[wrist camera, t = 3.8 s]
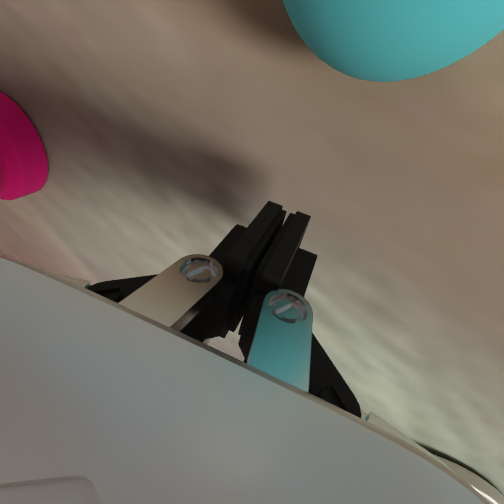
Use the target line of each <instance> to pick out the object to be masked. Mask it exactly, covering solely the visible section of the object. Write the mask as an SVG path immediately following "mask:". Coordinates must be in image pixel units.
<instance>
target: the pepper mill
mask: <svg viewBox="0 0 504 504" xmlns="http://www.w3.org/2000/svg"><path fill="white" fill-rule="evenodd" d="M47 175H48V161H47V155H46V152H45V149H44V145H43V143H42V140H41V138H40V136H39V134H38V132H37V130H36V128H35V127H34V125H33V124H32V122H31V121H30V119H29V118H28V116H27V115H26V114H25V113H24V112H23V110H22V109H21V108H20V107H19V106H18V104H16V103H15V102H14V101H13V100H12V99H10V98H9V97H8V96H7V95H6V94H4V93H3V92H1V91H0V199H2V200H13V199H16V198H19V197H22V196H25V195H28V194H31V193H34V192H36V191H39V190H40V189H41V188H42V187H43V186H44V184H45V182H46V180H47Z"/></svg>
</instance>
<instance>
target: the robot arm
mask: <svg viewBox="0 0 504 504" xmlns="http://www.w3.org/2000/svg"><path fill="white" fill-rule="evenodd" d="M285 215H286V211H284V210H282V205H279V204H276V203H274V202H271V201H268V202H267V204H266V205H265V206H264V207H263V209H262V210H261V211H260V212H259V214H258V215H257V216H256V217H255V219H254V220H253V221H252V222H251V224H250V225H249V226H248V227H247V228H246V227H244V226H241V225H238V224H237V225H236V226H235V227H234V228H233V229H232V230H231V231H230V232H229V234H228V235H227V236H226V237H225V238H224V239H223V240H222V242H221V243H220V244H219V245H218V246H217V247H216V248H215V250H214V251H213V252H212V253H211V254H210V255H209V256H206V255H200V254H193V255H188V256H185V257H183V258H181V259H179V260H178V261H177V262H175V263H174V264H172V265H171V266H170V267H168V268H167V269H165V270H164V271H163V272H161V273H160V274H157V275H150V276H142V277H135V278H127V279H119V280H112V281H105V282H100V283H96V284H94V285H90V281H87V280H83V279H78V278H74V277H70V276H66V275H61V274H57V273H53V272H48V271H45V270H43V269H40V268H38V267H35V266H33V265H30V264H28V263H25V262H22V261H20V260H17V259H14V258H11V257H8V256H5V255H1V254H0V504H504V496H503V495H502V494H501V493H500V492H499V491H498V490H497V489H496V488H494V487H493V486H492V485H490V484H489V483H488V482H486V481H485V480H483V479H482V478H481V477H479V476H478V475H476V474H474V473H473V472H471V471H469V470H467V469H465V468H464V467H462V466H460V465H458V464H456V463H454V462H451V461H449V460H447V459H444V458H442V457H440V456H437V455H435V454H431V453H430V452H428V451H427V450H426V449H424V448H423V447H421V446H420V445H418V444H417V443H416V442H414V441H413V440H411V439H410V438H408V437H407V436H406V435H404V434H403V433H401V432H400V431H399V430H397V429H396V428H394V427H393V426H391V425H390V424H389V423H387V422H386V421H384V420H383V419H381V418H380V417H379V416H377V415H376V414H374V413H373V412H372V411H371V412H370V413H369V414H367V413H366V412H364V411H363V410H362V409H360V406H359V403H358V401H357V399H356V398H355V396H354V394H353V393H352V391H351V390H350V388H349V387H348V385H347V384H346V382H345V381H344V379H343V378H342V376H341V375H340V373H339V372H338V370H337V369H336V367H335V366H334V364H333V363H332V361H331V360H330V358H329V357H328V355H327V354H326V352H325V351H324V349H323V348H322V346H321V345H320V343H319V342H318V340H317V339H316V337H315V336H314V334H313V333H312V322H313V312H312V308H311V306H310V304H309V302H308V301H307V300H306V299H305V298H304V295H305V292H306V289H307V286H308V283H309V280H310V277H311V274H312V271H313V268H314V265H315V262H316V259H317V255H316V254H313V253H311V252H308V251H305V250H303V249H300V248H299V247H300V244H301V241H302V239H303V236H304V233H305V231H306V228H307V225H308V223H309V220H310V217H311V216H309V215H306V214H304V213H301V212H298V211H297V212H296V214H292V213H290V214H289V216H288V218H287V219H286V221H285V223H284V224H283V222H284V218H285ZM282 225H283V226H282ZM242 317H243V319H242ZM241 319H242V322H241V326H240V329H239V333H238V334H239V335H241V337H240V340H239V343H238V344H239V347H240V349H241V351H242V353H243V356H244V361H243V362H242V361H240V360H238V359H236V358H234V357H232V356H230V355H228V354H225V353H223V352H221V351H219V350H217V349H215V348H213V347H211V346H208V343H209V341H210V338H213V337H218V336H220V337H222V338H225V336H226V335H227V333H228V331H229V330H230V331H232V332H234V331H235V330H236V328H237V326H238V324H239V322H240V321H241Z"/></svg>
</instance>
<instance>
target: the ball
mask: <svg viewBox="0 0 504 504" xmlns="http://www.w3.org/2000/svg"><path fill="white" fill-rule="evenodd" d="M283 3H284V6H285V8H286V11H287V13H288V15H289V18H290V20H291V22H292V24H293V26H294V27H295V29H296V31H297V33H298V34H299V36H300V37H301V39H302V40H303V41H304V43H305V44H306V45H307V46H308V48H309V49H310V50H311V51H312V52H313V53H314V54H315V55H316V56H317V57H318V58H319V59H321V60H322V61H324V62H325V63H326V64H328V65H329V66H331V67H332V68H334V69H336V70H338V71H340V72H342V73H344V74H346V75H348V76H352V77H355V78H358V79H362V80H369V81H376V82H392V81H400V80H407V79H412V78H415V77H419V76H423V75H427V74H429V73H432V72H434V71H437V70H439V69H442V68H444V67H446V66H448V65H450V64H452V63H454V62H456V61H458V60H460V59H462V58H464V57H466V56H467V55H469V54H470V53H472V52H473V51H475V50H477V49H478V48H480V47H481V46H483V45H484V44H486V43H487V42H488V41H490V40H491V39H492V38H493V37H495V36H496V35H497V34H499V33H500V32H501V31H502V30H504V0H283Z"/></svg>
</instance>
